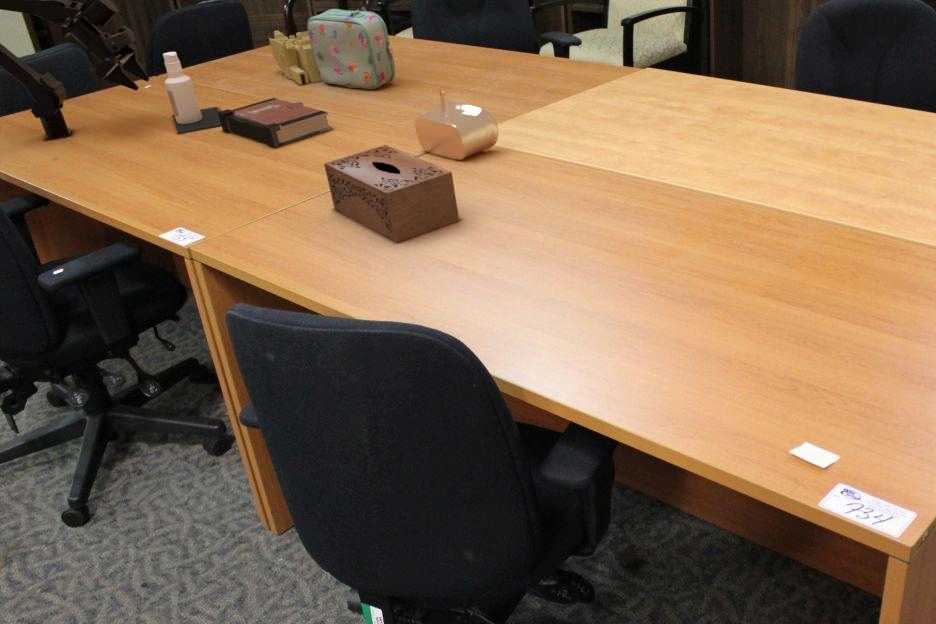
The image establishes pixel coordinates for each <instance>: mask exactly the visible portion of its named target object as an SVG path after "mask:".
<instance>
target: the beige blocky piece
mask: <svg viewBox="0 0 936 624" xmlns="http://www.w3.org/2000/svg"><path fill="white" fill-rule="evenodd" d="M295 35H296V36H295ZM295 35H294V34H291V35H289V37H287V36H286V35H284V33H283V32H280V30H274V31H273V36H274V38H272V37H268V41H269V45H270V48H271V49H270V50H271V52H272V56H273V58H274V60H275V62H276V65H277V66H278V68H279V69H280V70H281V71H282V73H283V74H284V76H285V77H286V78H287V79H289V80H293V81H294V82H296V83H297V84H298V85H300V86H301V85H303V83H305V84H309V82H310V83H317V82H322V81H323V80H322V79H321V78H320V76H319V74H318V71H317V68H316V65H315V61H314V57H313V53H312V48H311V43H310V39H309V33H308V30H305V31H301V32H300V31H299V32H296V33H295ZM323 82H324V81H323Z"/></svg>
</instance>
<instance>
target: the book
mask: <svg viewBox="0 0 936 624" xmlns="http://www.w3.org/2000/svg"><path fill="white" fill-rule="evenodd" d="M218 116H219V119H220V123H221V126H220V127H221V129H222V132H225V133H228V134H230V133H232V134H234V135H238V136H240V137H243V138H245V139H250V140H252V141H256V142H258V143H262V144H265V145H267V146H268V147H270V148H274V149H276V148H280V147H283V146H286V145H289V144H292V143H295V142H298V141H302V140H304V139H307V138H311V137H314V136H317V135H319V134H323V133H327V132H329V131H332V126H329V122H328V117H327V116H329V112H328V111H324V110H321V109H317V108H313V107H311V106H310V107H309V106H306V105H304V103H303V102H301V101H300V102H297V101H296V102H292V101H287V100H283V99H280V98H276V97H272V98H269V99H264V100H261V101H259V102H255V103H254V102H253V103H251V104H248V105H244V106H241V107H237V108H233V109H229V108H227V109H224V110H221V111H219V112H218Z"/></svg>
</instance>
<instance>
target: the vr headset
mask: <svg viewBox="0 0 936 624" xmlns="http://www.w3.org/2000/svg"><path fill="white" fill-rule="evenodd" d="M439 97H440V104H439V105H438V107H435V108H434V109H432V110H430V111H428V112H426V113H424V114H422V115H421V116H418V117H417V118H416V119H415V121H414V127H415V132H416V136H417V140H418V142H419V144H420V147H421V148H422V149H423V150H424V151H426V152H427V153H429V154H432V155H436V156H439V157H443V158H448V159H453V160H458V161H461V160H464V159H466V158H468V157H470V156H473V155H474V154H477V153H479V152H482V151H485V150H488V149H491V148H493V147H495V145H496V144H497V142H498V140H499V134H500V133H499V132H500V131H499V125H498V123H497V120H496V119H495V117H494V116H493V115H492V113H490V112H489V111H487V110H486V109H484V108H482V107H479V106H476V105H471V104H467V103H461V102H455V101H452V100H447V99H446V96H445V92H444V91H442V90H439Z"/></svg>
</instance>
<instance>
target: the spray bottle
mask: <svg viewBox="0 0 936 624" xmlns="http://www.w3.org/2000/svg"><path fill="white" fill-rule="evenodd" d="M162 56H163V60H164V66H165V69H166V73H167V74H166V75H167V78H166V79H165V80H164V86H165V89H166V93H167V95H168V99H169V102H170V106H171V108H172V112H173V115H175V118H176V121H177V123H179V124H190V123H195V122H198V121H200V120H201V119H202V115H201V111H200V110H201V109H200V108H201V107H200V105H199V101H198V98H197V95H196V91H195V87H194V85H193V81H192V78H191V77H190V76H188V75H185V73H184V69H183V68H182V63H181V61H180V59H179V57H178V54H177V52H176V51H168V52H165V53H162Z"/></svg>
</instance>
